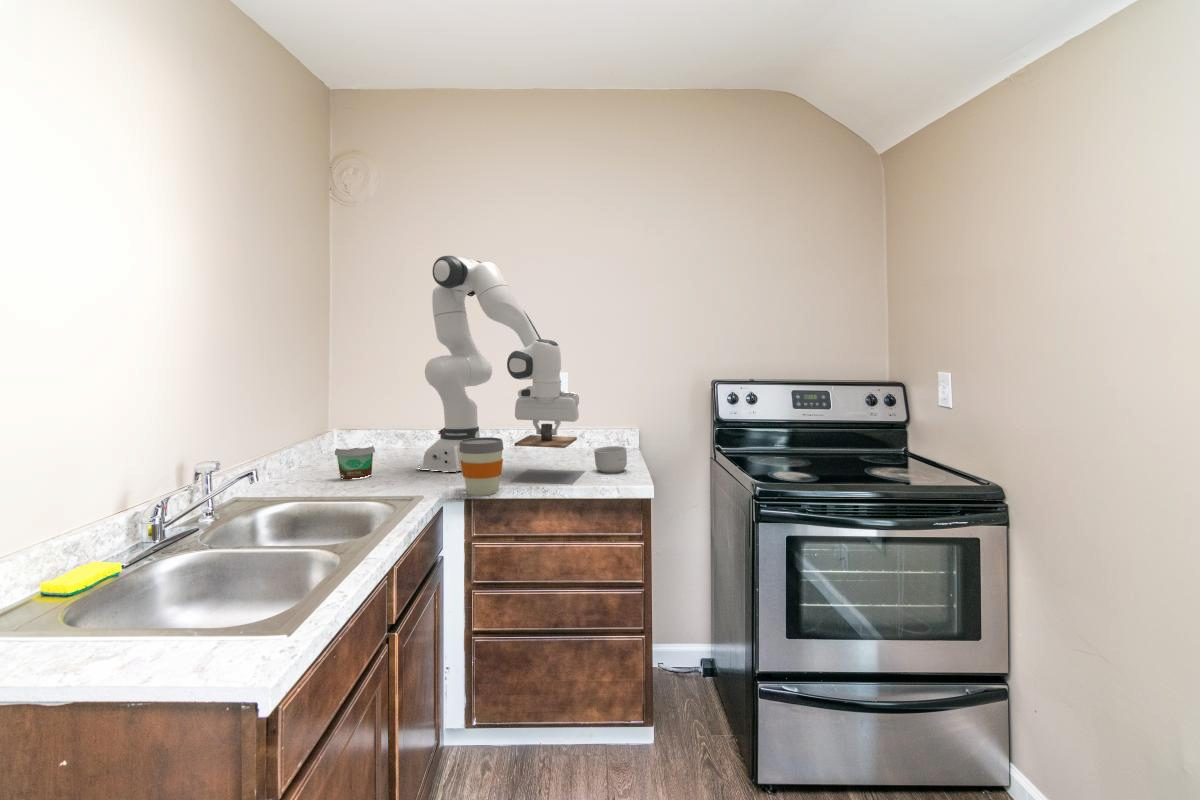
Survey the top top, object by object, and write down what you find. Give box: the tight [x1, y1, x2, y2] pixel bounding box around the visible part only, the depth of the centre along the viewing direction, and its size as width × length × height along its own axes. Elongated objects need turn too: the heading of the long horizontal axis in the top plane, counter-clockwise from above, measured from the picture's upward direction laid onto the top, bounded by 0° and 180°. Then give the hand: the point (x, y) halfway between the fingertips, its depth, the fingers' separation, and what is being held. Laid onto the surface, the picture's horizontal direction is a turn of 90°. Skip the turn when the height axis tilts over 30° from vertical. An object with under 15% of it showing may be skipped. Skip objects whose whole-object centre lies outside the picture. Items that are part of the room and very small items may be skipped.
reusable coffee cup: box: [459, 436, 504, 497], centre depth 178 cm, size 13×12×15 cm
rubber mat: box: [508, 468, 587, 486], centre depth 197 cm, size 20×20×1 cm
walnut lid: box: [514, 423, 578, 449], centre depth 196 cm, size 16×16×6 cm
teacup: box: [593, 445, 628, 474], centre depth 206 cm, size 14×11×8 cm
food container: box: [334, 445, 376, 480], centre depth 198 cm, size 12×6×10 cm, turn 118°
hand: (546, 434), depth 196 cm, fingers closed on walnut lid, 3 cm apart
